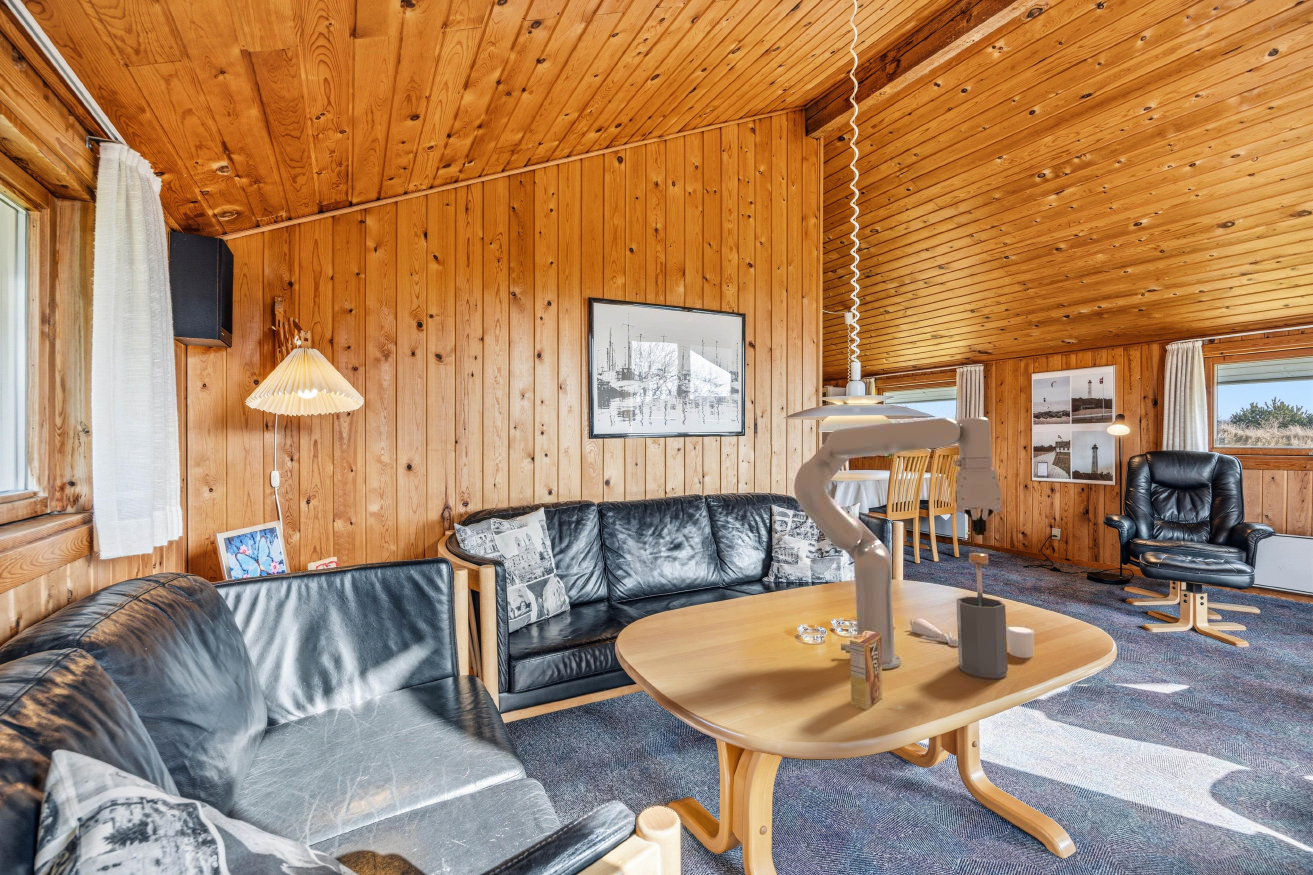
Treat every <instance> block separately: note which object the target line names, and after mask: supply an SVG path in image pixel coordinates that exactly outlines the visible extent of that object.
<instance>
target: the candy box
mask: <svg viewBox="0 0 1313 875" xmlns="http://www.w3.org/2000/svg"><path fill="white" fill-rule="evenodd" d="M849 644H850V653H849V658H850V659H849V660H850V661H849V662H850V664H849V666H850V667H849V668H850V669H849V670H850V703H851V704H850V705H851V706H852V705H853V706H852V707H855V706H856V708H859V707H860V708H859V709H863V710H866V711H867V710H869V709H870V708H872V707H873V706H874V705H876V703H878V702H879V701H880V700H882V699H883V698H884V696H883V695H884V694H883V669H882V647H881V634H880V633H876V632H871V631H864V632H862V633H861V634H859V635H857V634H856V635H855V636H854V637H852V638H850V639H849Z"/></svg>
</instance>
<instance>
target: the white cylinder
mask: <svg viewBox="0 0 1313 875" xmlns="http://www.w3.org/2000/svg"><path fill="white" fill-rule="evenodd" d="M1006 638H1007V648H1008V654H1009V655H1011V656H1013V657H1016V658H1021V659H1031V658H1033V657H1034V647H1035V646H1034V645H1035V630H1034V629H1032V628H1029V627H1026V626H1021V625H1009V626H1006Z"/></svg>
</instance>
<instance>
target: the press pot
mask: <svg viewBox="0 0 1313 875" xmlns="http://www.w3.org/2000/svg"><path fill="white" fill-rule="evenodd" d="M1006 615H1007V614H1006V604H1004V602H1003V601H1001V599H999V600H998V599H995V598H990V597H986V596H983V607H979V606H978V597H977V596H968V595H967V596H963V597H958V598H956V622H957V639H958V647H957V648H958V649H957V650H958V663H959V670H960V671H961V672H962V673H964V674H965V675H967V676H970V677H972V678H973V677H974V678H978V679H983V680H1001V679H1005V678H1006V677H1007V676H1008V671H1009V668H1008V667H1009V665H1008V640H1007V633H1006V627H1007V617H1006Z"/></svg>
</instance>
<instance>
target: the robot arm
mask: <svg viewBox="0 0 1313 875" xmlns="http://www.w3.org/2000/svg"><path fill="white" fill-rule="evenodd" d="M991 430H992V429H991V421H990V420H989V419H988V418H987V417H981V416H979V417H977V416H976V417H965V418H960V419H952V418H949V417H940V418H939V417H938V418H932V419H924V420H915V421H909V422H908V421H907V422H887V423H879V424H871V425H864V426H856V427H855V426H854V427H847V428H839V429H835V430H833V431H832V432H830V433H829V434H828V435H827V438H826V441H825V442H824V443H823V445H821V447H820V448H819V449H818V450H817V451H816V453H814V455H812V457H811V458H810V459H809V460H807V461H805V462H804V463H803V464H802V465H801V466H800V467H799V469H797V470H798V471H797V473H796V476H795V478H794V485H793V492H794V495H795V498H796V500H797V504H798V505H799V506H800V508H801V509H802V510H803V512H804V513H805V514H806V515H807V516H808V517H809V518H810V519H811V521H812V522H813V523H814V525H816V527H817V528H818V529H819V530H820V531H821V533H823V534H824V536H825V537H827V539H828V540H829V541H830V543H831V544H832V545H833V546H834V547H836V548H837V549H839V550H842V551H845V553H846V554H847V555H848V556H850V557H851V559H852V560H853V561H854V564H853V566H854V567H853V571H854V574H853V575H854V585H855V588H854V589H855V605H856V606H855V608H856V609H855V610H856V636H857V635H859V634H861V633H862V632H864V631H871V632H876V633H880V634H881V647H882V670H888V669H894V668H897V667H899V666H900V665H901V664H902V659H901V657H900V655H898V654H896V653H895V638H894V637H895V636H894V635H895V634H894V630H895V629H894V611H893V610H894V607H893V606H894V605H893V568H892V566H893V564H892V559H891V553H890V552H889V549H888V548H887V547H886V545H885V544H883V542H882V541H881V540H880V539H878V537H877V536H876V535H875V534H874V533H873V532H872V531H871V530H870V529H869V527H867V525H865V524H864V523H863V521H862V520H860V518H858V517H857V516H855V515H854V514H851V513H847V512H846V511H844V510H843V508H842V507H841V506H840V505H839V504H838V503H837V501H835V500H834V498H833V497H831V496H830V495H829V493H828V492H827V490H826V485H828V483H829V482H830V481H831V480H832V479H833V478H834V476H835V475H836V474H837V473H838V472H839V471H840V470H841V469H842V468H843V467H844V466H845V464H847V462H848V461H849V460H850V459H856V458H863V457H874V456H876V457H877V456H883V455H894V454H899V453H902V452H910V451H919V450H928V449H936V448H938V449H939V448H948V447H950V446H953V445H958V453H959V457H958V459H957V460H953V466H954V467H958V468H959V469H958V470H957V471H956V477H955V489H954V490H955V495H954V497H955V499H954V500H955V504H956V505H955V509H954V510H955V512H957V513H961V514H965V515H967V516H968V517H969V518H970V519H971V531H972V532H973V533H974V535H976V536H985V533H986V532H987V521H988V519H989V517H990V516H992V514H996V513H1000V512H1002V510H1003V509H1002V504H1003V502H1002V501H1003V500H1002V492H1001V486H1000V478H999V475H998V471H997V469H995V468H994V469H993V452H992V450H993V449H992V432H991ZM977 509H980V510H979V516H978V514H977ZM840 651H845V653H846V654H850V643H842V642H841V643H840Z"/></svg>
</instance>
